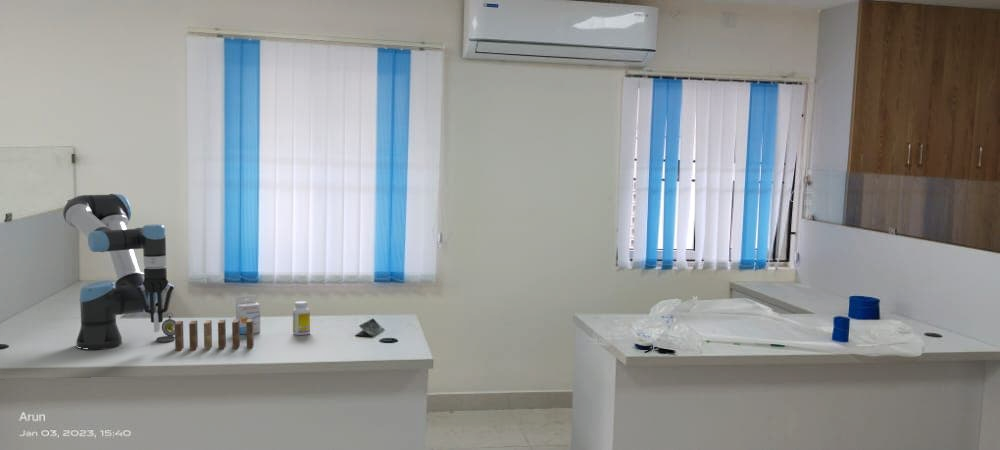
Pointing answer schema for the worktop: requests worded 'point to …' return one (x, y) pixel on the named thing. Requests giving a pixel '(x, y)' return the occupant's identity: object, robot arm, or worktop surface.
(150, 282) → the robot arm
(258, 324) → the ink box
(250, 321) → the domino
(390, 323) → the worktop surface
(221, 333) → the domino
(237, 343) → the domino
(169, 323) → the pocket watch
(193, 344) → the domino
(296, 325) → the supplement bottle
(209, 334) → the tile
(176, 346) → the domino
